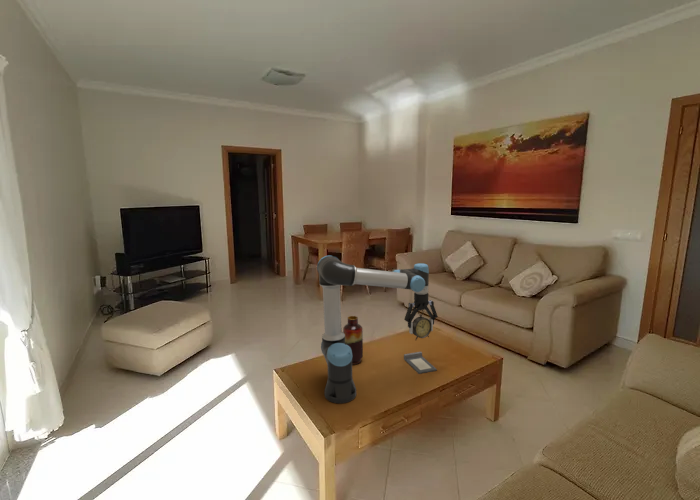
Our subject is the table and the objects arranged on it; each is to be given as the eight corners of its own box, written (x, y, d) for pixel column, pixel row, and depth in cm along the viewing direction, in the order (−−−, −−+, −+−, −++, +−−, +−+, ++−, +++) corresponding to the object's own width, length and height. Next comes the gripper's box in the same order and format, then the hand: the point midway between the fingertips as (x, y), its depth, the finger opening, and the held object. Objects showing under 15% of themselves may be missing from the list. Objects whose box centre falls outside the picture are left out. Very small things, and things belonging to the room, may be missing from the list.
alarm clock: (415, 342, 178) (415, 312, 176) (409, 338, 183) (409, 309, 181) (432, 338, 183) (432, 309, 180) (425, 334, 188) (426, 306, 185)
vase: (341, 364, 190) (340, 320, 186) (346, 355, 201) (345, 313, 197) (360, 366, 188) (360, 321, 184) (364, 357, 198) (364, 315, 194)
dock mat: (418, 374, 179) (418, 368, 178) (403, 359, 195) (403, 354, 195) (436, 370, 182) (437, 365, 182) (420, 356, 199) (420, 351, 198)
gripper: (403, 296, 172) (403, 337, 176) (444, 292, 179) (444, 331, 182) (397, 293, 180) (398, 332, 183) (437, 288, 186) (436, 326, 189)
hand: (420, 331), depth 182 cm, fingers closed on alarm clock, 11 cm apart
